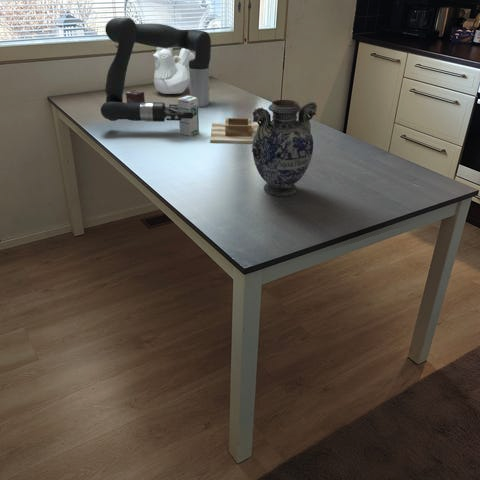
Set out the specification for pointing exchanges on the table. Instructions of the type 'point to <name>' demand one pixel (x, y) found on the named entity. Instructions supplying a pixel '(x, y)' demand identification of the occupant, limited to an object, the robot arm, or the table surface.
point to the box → (135, 97)
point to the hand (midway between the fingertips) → (193, 112)
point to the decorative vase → (283, 145)
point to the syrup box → (189, 106)
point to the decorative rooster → (171, 70)
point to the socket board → (233, 131)
